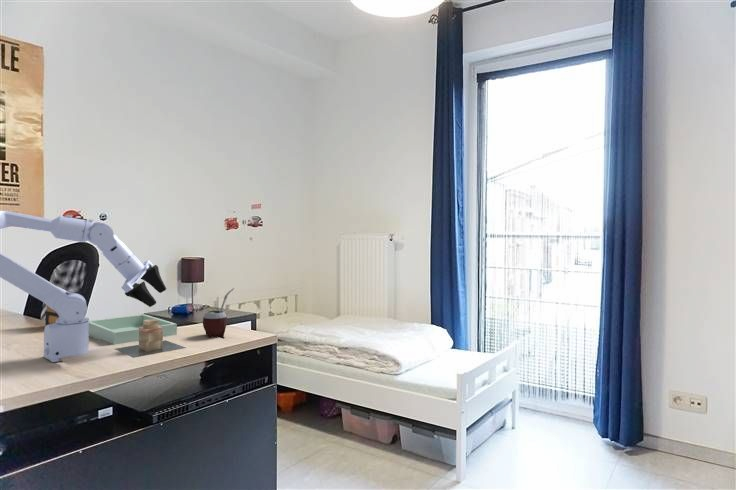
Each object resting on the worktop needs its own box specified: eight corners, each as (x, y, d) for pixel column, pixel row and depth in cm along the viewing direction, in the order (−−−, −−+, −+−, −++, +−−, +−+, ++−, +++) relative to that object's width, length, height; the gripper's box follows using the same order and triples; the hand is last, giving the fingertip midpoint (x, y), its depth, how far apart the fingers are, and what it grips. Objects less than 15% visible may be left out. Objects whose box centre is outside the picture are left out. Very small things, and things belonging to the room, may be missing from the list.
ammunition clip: (45, 326, 157) (45, 290, 156) (51, 325, 158) (51, 289, 158) (62, 330, 151) (62, 292, 151) (69, 329, 153) (69, 292, 153)
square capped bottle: (146, 351, 126) (146, 322, 125) (138, 348, 129) (139, 320, 128) (162, 348, 129) (162, 320, 129) (155, 345, 132) (155, 318, 132)
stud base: (133, 360, 120) (133, 341, 119) (114, 351, 127) (114, 333, 127) (186, 350, 130) (186, 332, 130) (165, 343, 138) (165, 326, 138)
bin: (114, 347, 132) (114, 332, 132) (85, 334, 147) (85, 321, 147) (176, 336, 146) (176, 323, 146) (144, 326, 160) (144, 314, 160)
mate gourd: (198, 339, 143) (198, 289, 143) (212, 334, 151) (213, 286, 150) (220, 341, 141) (220, 291, 141) (233, 335, 149) (234, 288, 148)
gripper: (123, 265, 121) (160, 304, 126) (146, 242, 134) (178, 278, 139) (102, 278, 122) (139, 316, 127) (127, 254, 135) (159, 290, 140)
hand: (158, 297), depth 133 cm, fingers open, 7 cm apart
